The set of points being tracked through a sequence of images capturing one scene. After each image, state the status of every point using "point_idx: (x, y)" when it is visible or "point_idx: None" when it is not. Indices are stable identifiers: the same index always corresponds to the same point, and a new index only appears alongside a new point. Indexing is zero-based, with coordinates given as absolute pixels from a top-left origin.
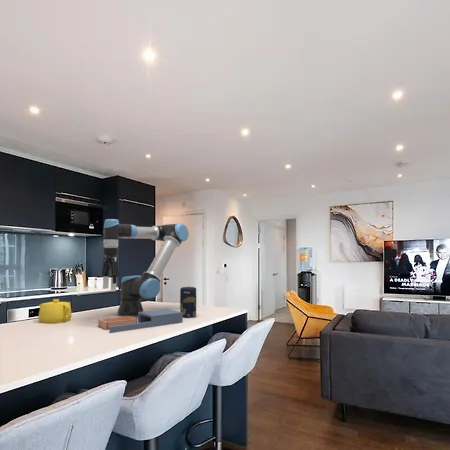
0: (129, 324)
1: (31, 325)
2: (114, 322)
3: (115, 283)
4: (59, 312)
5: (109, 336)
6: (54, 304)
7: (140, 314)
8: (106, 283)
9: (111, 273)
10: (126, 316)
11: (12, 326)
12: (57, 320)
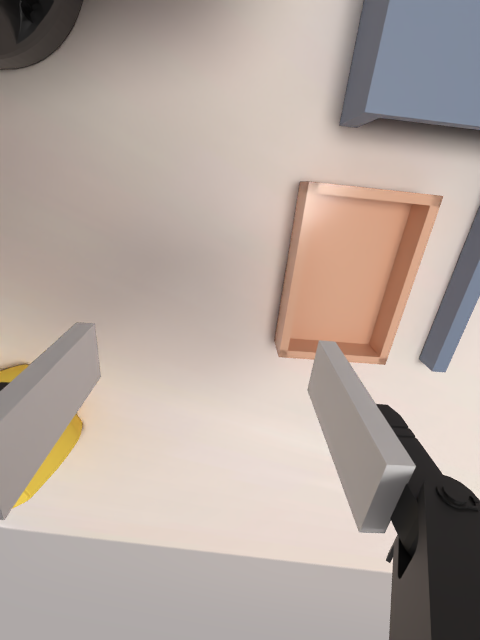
0: (474, 287)
1: (71, 484)
2: (394, 328)
3: (386, 412)
4: (55, 452)
5: (473, 386)
6: (20, 504)
7: (399, 119)
8: (68, 386)
9: (395, 626)
10: (315, 199)
11: (55, 520)
12: (79, 432)
